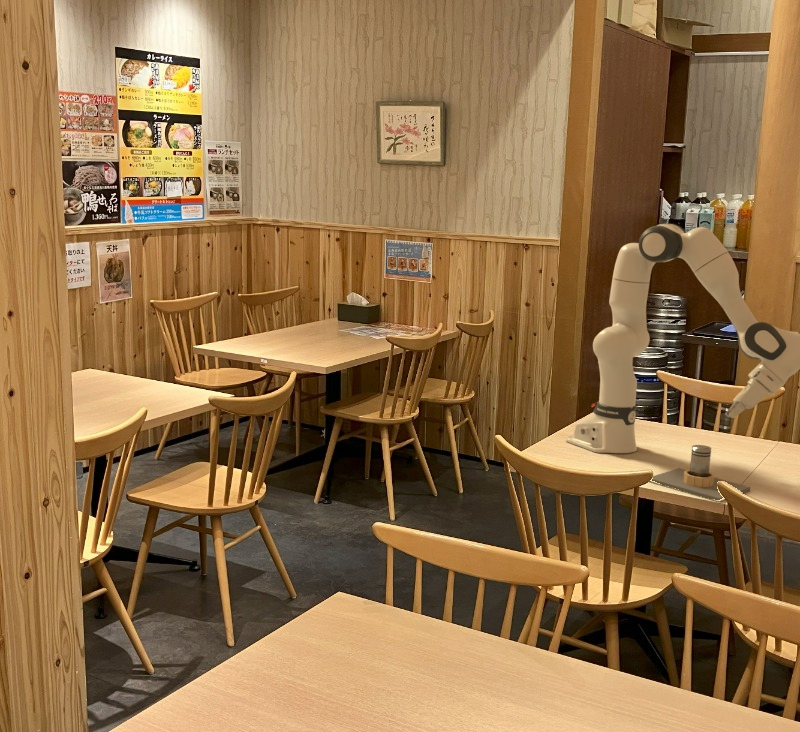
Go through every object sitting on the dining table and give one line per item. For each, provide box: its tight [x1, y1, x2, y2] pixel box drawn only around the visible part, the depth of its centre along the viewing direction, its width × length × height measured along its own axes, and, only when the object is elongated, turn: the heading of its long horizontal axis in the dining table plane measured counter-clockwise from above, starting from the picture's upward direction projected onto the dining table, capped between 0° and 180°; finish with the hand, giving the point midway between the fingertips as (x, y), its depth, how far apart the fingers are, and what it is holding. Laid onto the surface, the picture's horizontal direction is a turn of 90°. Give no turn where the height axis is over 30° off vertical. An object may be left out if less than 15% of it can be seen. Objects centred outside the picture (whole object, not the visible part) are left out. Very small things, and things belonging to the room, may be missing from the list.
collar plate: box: [652, 467, 751, 500], centre depth 266 cm, size 22×16×4 cm
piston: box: [689, 444, 712, 477], centre depth 265 cm, size 5×5×10 cm
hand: (729, 416), depth 276 cm, fingers open, 8 cm apart
